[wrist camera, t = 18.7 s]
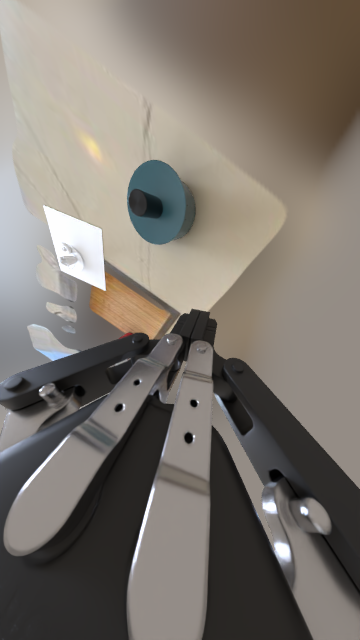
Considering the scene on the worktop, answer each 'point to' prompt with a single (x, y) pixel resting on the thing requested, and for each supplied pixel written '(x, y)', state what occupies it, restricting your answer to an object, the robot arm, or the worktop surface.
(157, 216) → the lid
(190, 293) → the worktop surface
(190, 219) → the canister
